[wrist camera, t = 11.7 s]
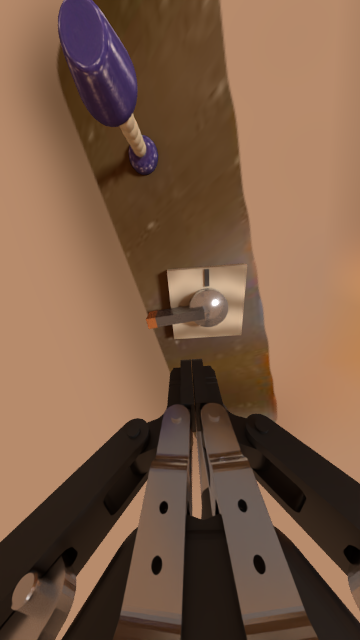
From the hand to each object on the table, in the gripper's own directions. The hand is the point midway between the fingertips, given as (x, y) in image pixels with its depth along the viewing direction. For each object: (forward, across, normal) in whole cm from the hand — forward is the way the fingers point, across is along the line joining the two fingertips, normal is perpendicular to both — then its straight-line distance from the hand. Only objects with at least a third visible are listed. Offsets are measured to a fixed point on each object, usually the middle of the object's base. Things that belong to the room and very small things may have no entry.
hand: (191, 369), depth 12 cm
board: (+23, -4, +3) cm, 24 cm away
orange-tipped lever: (+21, 0, +3) cm, 21 cm away
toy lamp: (+23, +5, -20) cm, 31 cm away
